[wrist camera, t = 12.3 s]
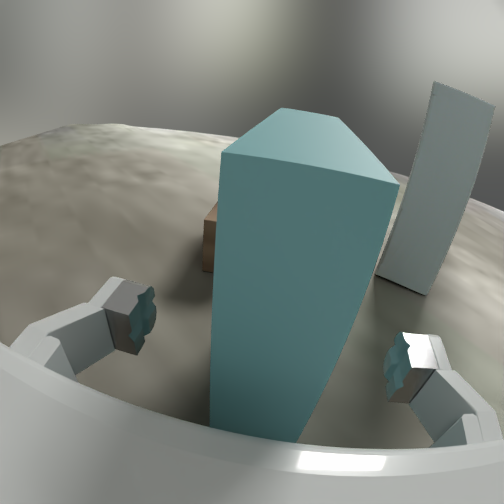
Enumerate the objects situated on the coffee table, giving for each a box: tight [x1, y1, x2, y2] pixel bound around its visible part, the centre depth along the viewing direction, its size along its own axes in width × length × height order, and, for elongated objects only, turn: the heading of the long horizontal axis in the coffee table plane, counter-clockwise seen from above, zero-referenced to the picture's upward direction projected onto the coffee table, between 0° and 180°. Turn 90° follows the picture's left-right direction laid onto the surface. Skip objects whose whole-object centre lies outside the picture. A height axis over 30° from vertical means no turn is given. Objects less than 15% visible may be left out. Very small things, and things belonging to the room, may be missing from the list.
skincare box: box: [375, 81, 495, 295], centre depth 27 cm, size 21×6×16 cm, turn 148°
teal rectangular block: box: [210, 108, 400, 443], centre depth 11 cm, size 10×2×12 cm, turn 170°
